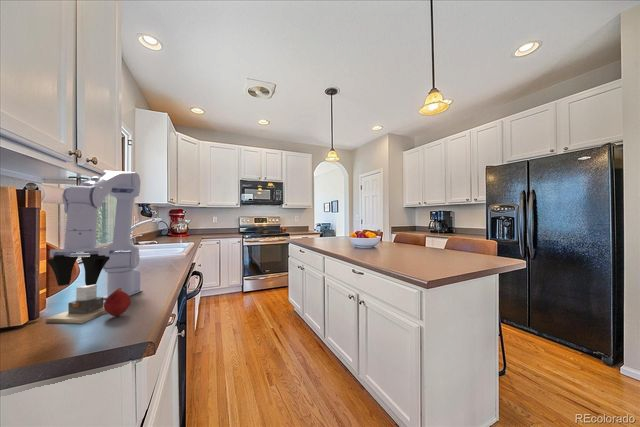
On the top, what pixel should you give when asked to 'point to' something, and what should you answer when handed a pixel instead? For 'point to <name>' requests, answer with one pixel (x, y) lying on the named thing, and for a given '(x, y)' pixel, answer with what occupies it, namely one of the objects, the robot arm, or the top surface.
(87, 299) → the post
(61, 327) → the top surface
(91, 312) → the stand
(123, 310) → the onion
